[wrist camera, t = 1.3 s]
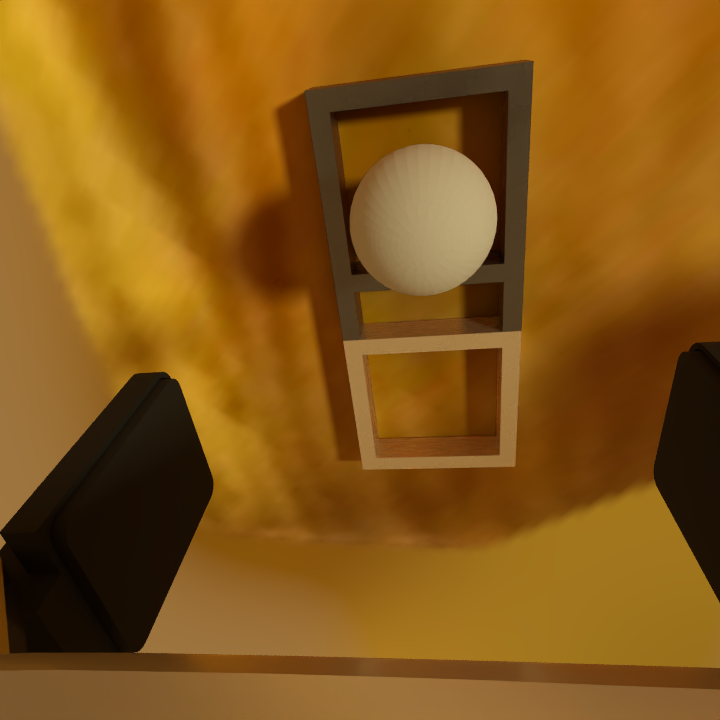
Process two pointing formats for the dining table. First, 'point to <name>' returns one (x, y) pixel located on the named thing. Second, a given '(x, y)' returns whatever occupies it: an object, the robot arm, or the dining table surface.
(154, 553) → the robot arm
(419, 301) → the dining table surface
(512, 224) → the rail
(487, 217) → the light bulb
